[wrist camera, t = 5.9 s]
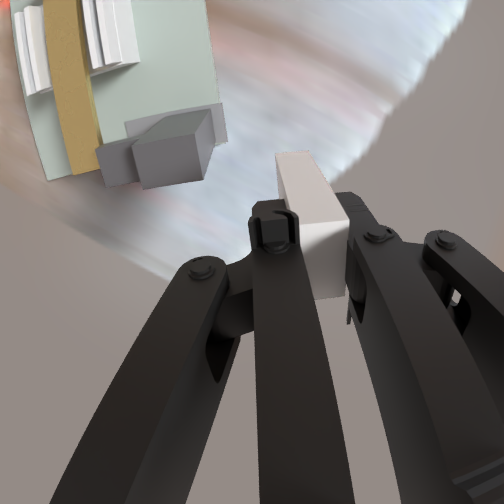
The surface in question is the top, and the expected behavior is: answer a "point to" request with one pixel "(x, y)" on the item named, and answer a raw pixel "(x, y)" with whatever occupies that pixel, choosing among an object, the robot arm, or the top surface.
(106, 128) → the board
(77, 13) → the strap
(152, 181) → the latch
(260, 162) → the top surface
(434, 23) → the top surface
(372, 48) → the top surface
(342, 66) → the top surface
